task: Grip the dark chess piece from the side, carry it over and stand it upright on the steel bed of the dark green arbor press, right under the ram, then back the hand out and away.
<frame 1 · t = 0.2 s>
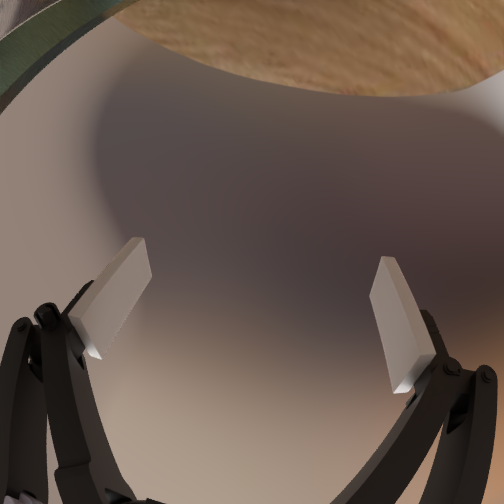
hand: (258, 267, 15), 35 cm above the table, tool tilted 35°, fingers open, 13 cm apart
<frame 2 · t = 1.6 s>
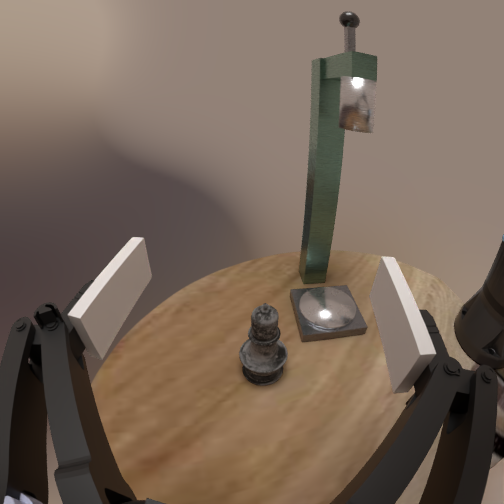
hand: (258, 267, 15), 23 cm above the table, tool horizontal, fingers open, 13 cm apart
dark chess piece: (262, 369, 35), on the table
arbor press: (326, 314, 43), on the table
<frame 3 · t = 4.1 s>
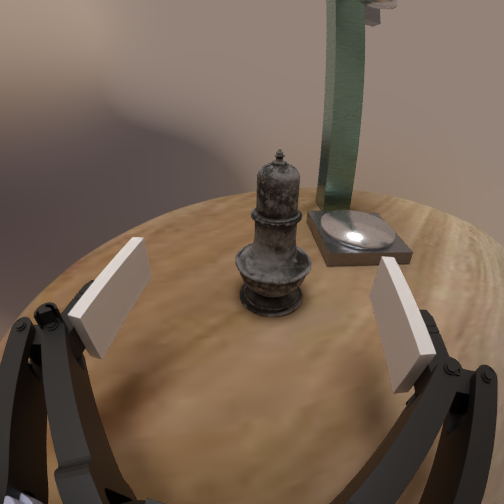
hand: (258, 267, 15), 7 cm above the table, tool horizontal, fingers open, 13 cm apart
dark chess piece: (270, 296, 24), on the table
arbor press: (355, 240, 32), on the table
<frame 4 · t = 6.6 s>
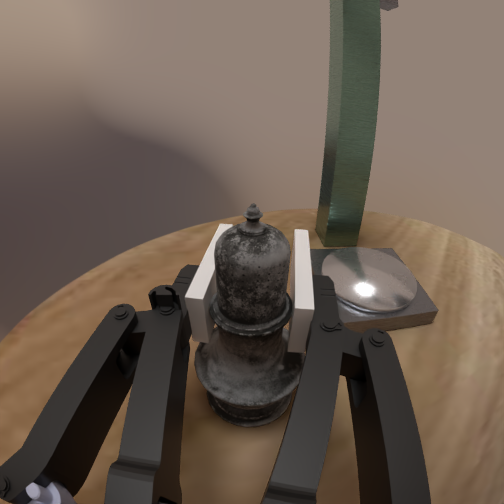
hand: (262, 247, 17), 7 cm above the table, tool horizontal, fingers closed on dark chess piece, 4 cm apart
dark chess piece: (249, 391, 16), on the table, touching gripper
arbor press: (365, 291, 24), on the table
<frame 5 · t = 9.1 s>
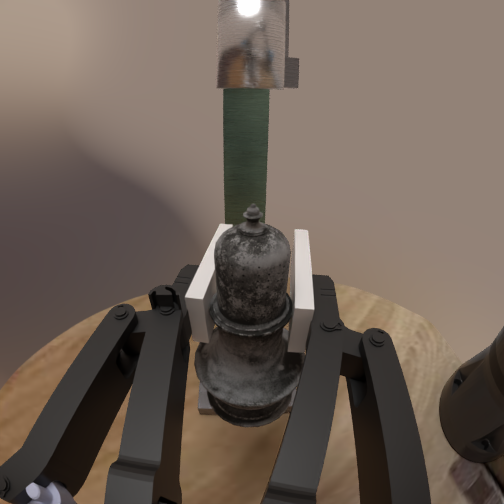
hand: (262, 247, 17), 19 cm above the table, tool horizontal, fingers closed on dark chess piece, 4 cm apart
dark chess piece: (249, 391, 16), point 12 cm above the table, touching gripper
arbor press: (246, 376, 29), on the table
when the fingers open (10 cm above the table, at t = 11.7 s): dark chess piece drops 1 cm, resting on arbor press.
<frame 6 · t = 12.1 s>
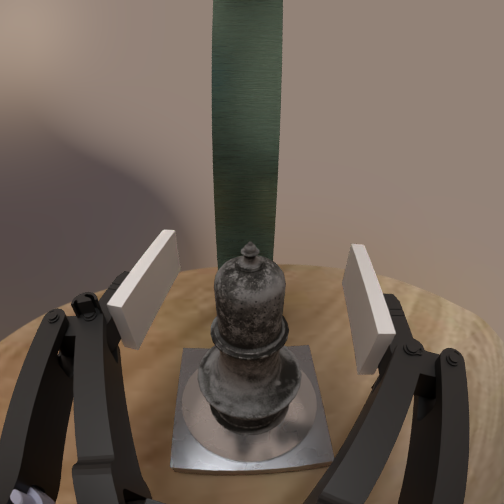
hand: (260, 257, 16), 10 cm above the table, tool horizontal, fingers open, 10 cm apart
dark chess piece: (249, 401, 17), point 2 cm above the table, touching arbor press
arbor press: (249, 412, 18), on the table
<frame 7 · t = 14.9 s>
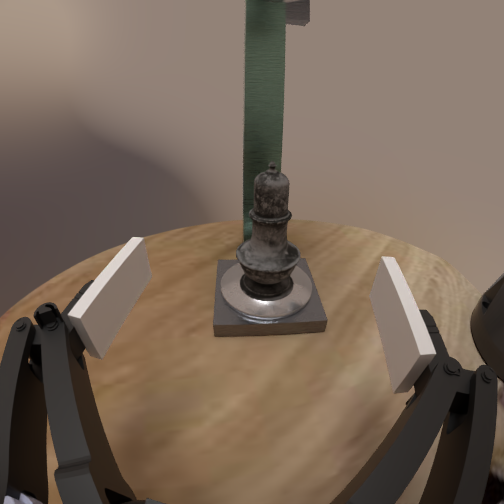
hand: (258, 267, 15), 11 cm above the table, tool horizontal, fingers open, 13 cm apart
dark chess piece: (266, 284, 28), point 2 cm above the table, touching arbor press
arbor press: (265, 298, 29), on the table
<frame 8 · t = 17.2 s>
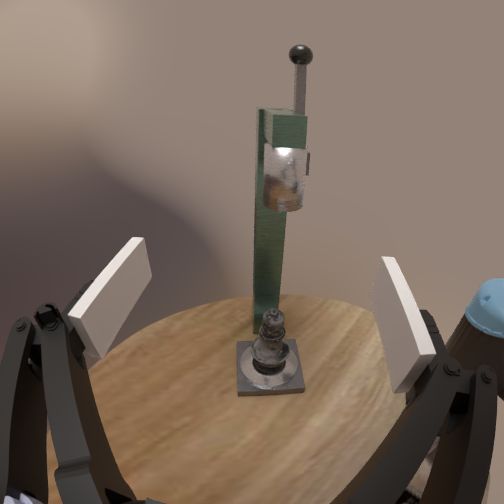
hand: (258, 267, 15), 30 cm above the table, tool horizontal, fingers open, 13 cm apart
dark chess piece: (269, 363, 42), point 2 cm above the table, touching arbor press
arbor press: (268, 369, 43), on the table
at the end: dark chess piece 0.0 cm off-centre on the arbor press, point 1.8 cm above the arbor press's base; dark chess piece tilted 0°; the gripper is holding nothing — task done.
